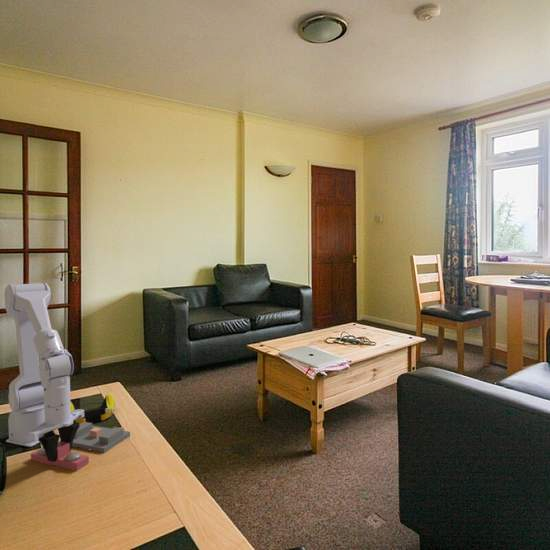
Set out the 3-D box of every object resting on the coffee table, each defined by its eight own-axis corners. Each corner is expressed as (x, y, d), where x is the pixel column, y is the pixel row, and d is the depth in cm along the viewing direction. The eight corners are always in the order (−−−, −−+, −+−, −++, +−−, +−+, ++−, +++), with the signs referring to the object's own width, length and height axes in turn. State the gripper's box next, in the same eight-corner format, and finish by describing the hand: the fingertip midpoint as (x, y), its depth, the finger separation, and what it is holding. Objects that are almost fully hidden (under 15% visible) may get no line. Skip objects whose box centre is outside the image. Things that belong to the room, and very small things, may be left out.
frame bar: (31, 461, 97) (30, 443, 97) (43, 454, 100) (42, 437, 100) (77, 471, 92) (76, 453, 92) (88, 464, 95) (88, 446, 95)
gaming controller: (63, 418, 122) (66, 430, 114) (62, 401, 122) (65, 412, 114) (113, 408, 131) (119, 418, 122) (112, 392, 130) (119, 401, 122)
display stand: (60, 444, 105) (60, 433, 105) (88, 428, 114) (88, 418, 114) (104, 452, 100) (104, 441, 100) (130, 435, 110) (129, 425, 110)
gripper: (43, 416, 87) (45, 474, 88) (92, 394, 101) (94, 445, 101) (20, 412, 89) (23, 469, 90) (71, 391, 103) (73, 441, 104)
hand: (59, 456), depth 96 cm, fingers closed on frame bar, 3 cm apart
